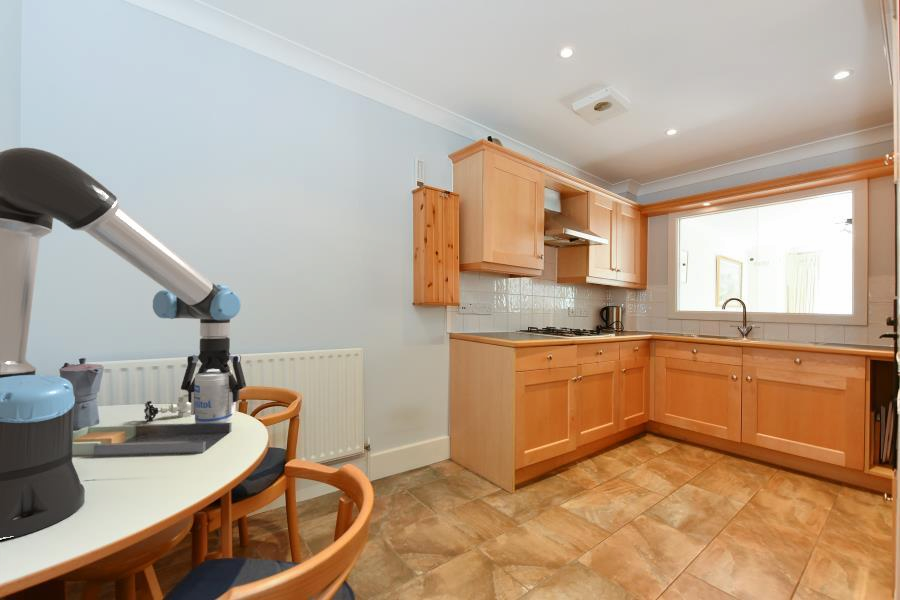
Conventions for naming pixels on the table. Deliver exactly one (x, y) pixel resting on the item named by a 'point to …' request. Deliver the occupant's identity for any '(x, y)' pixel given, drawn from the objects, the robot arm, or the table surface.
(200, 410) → the supplement tub
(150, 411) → the valve
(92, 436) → the chip
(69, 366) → the moka pot
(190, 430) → the tray
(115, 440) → the orange flat block
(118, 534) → the table surface
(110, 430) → the tray
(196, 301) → the robot arm
